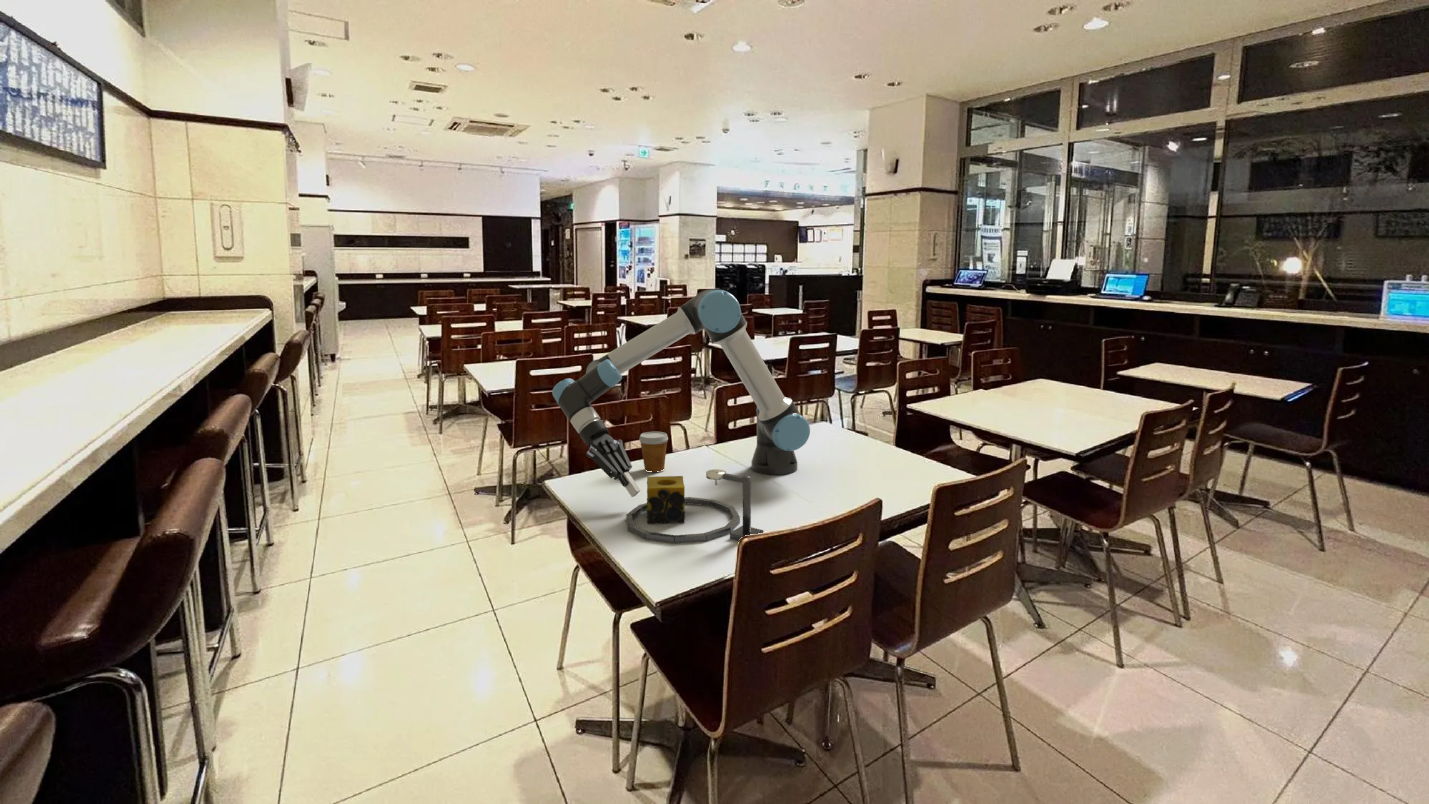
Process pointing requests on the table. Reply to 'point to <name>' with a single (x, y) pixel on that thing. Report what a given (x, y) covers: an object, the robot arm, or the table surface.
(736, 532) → the dial indicator stand
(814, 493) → the table surface
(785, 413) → the robot arm
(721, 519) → the table surface
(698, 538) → the ring
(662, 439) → the disposable coffee cup
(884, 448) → the table surface
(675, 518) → the yellow and black cube
